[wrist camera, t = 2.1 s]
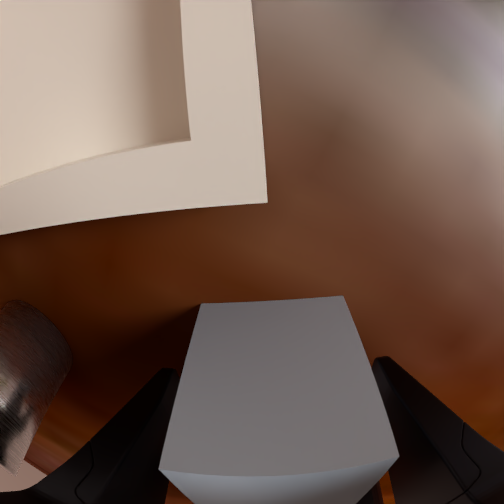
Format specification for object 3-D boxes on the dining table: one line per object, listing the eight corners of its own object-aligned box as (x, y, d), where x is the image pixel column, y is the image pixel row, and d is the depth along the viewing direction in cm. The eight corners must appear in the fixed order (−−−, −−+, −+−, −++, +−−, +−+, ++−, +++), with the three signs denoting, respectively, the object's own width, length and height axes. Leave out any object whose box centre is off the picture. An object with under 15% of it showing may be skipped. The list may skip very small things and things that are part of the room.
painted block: (330, 382, 10) (352, 506, 5) (221, 388, 10) (206, 514, 5) (342, 294, 8) (399, 456, 3) (201, 302, 8) (158, 469, 4)
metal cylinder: (87, 377, 10) (36, 489, 5) (30, 364, 10) (-21, 451, 5) (47, 302, 8) (-43, 422, 3) (-7, 298, 9) (-81, 385, 3)
